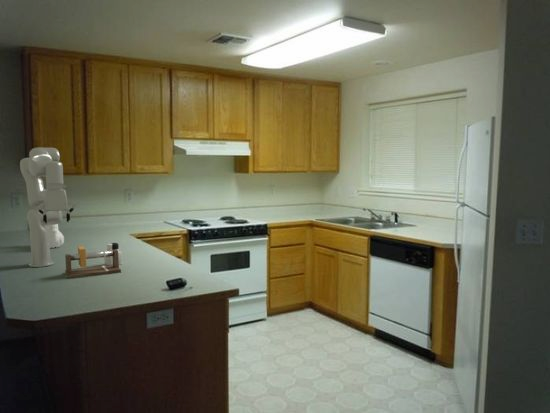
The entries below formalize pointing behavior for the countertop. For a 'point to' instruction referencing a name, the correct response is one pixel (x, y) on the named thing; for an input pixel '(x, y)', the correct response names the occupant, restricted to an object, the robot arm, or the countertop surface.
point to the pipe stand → (96, 269)
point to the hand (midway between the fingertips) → (56, 222)
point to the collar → (82, 256)
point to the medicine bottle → (110, 259)
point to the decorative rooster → (54, 235)
